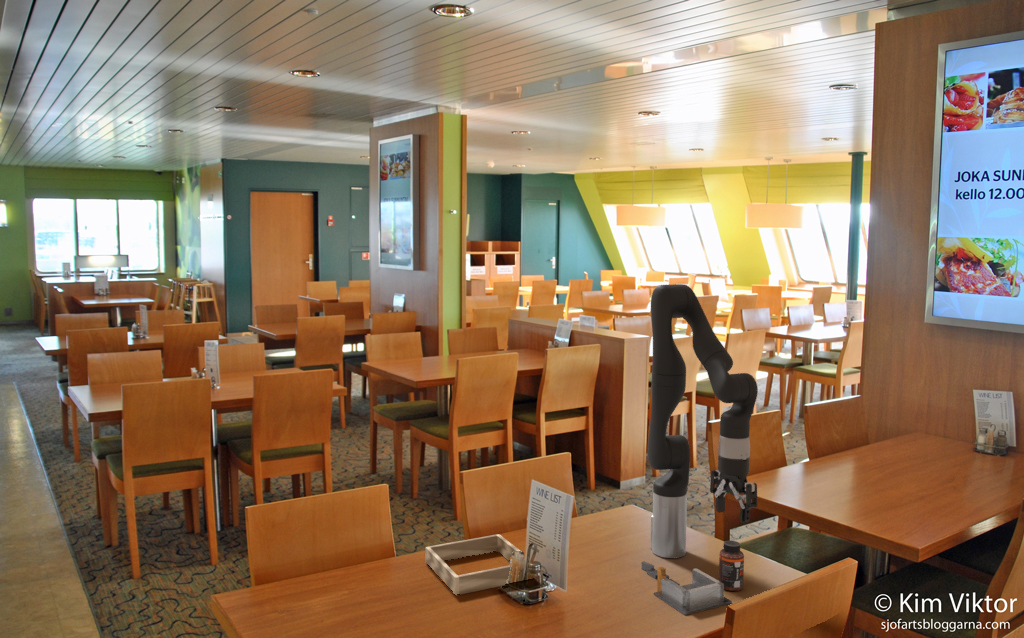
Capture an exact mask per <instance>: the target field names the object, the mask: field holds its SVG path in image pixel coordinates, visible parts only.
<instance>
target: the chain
mask: <svg viewBox="0 0 1024 638" xmlns="http://www.w3.org/2000/svg"><path fill="white" fill-rule="evenodd" d="M641 569H642V570H643V571H645V572H647V575H648V576H650V577H652V578H653V579H655V580H657V570H658V569H655V565H654V564H652V563H650V562H647V561H645V560H644V561H641ZM666 578H668V579H670V580H671V581H673V582H674V583H676V584H678V585H679V586H681V584H680V583H679V582H677V581H675V580H674V579H672V578H670V576H669V575H668V574H666Z"/></svg>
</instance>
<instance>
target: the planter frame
mask: <svg viewBox="0 0 1024 638" xmlns="http://www.w3.org/2000/svg"><path fill="white" fill-rule="evenodd" d="M424 547H425V549H424V550H425V551H424V553H425V555H424V556H425V563H426V562H427V564H428V565H429V566H430V567H431V568H432V569H433V570H434V571H435V572H436V573H437V574H438V576H439V577H440V578H441V579H442V580H443V581H444V582H445V583H446V584H447V586H448V587H449V588H450V589H451V590H452V591H453V592H452V591H451V590H450V589H449V588H448V587H447V586H446V587H447V588H448V589H449V590H450V591H451V592H452V593H453V595H454V594H455V595H456V596H458V595H457V594H460V595H464V594H470V593H474V592H478V591H484V590H489V589H493V588H499V587H501V586H502V587H503V586H506V585H505V584H506V580H507V579H508V576H509V571H510V565H511V564H509V565H504V566H499V567H494V568H489V569H484V570H479V571H473V572H469V573H463V574H459V575H458V574H456V572H455V571H454V570H453V569H452V568H451V567H449V565H448V564H447V563H446V561H445V560H448V561H452V560H451V559H454V560H458V558H459V559H463V558H462V557H464V558H467V557H466V556H470V557H473V556H472V555H475V556H480V555H485V554H484V553H486V554H490V552H491V553H494V552H493V551H496V552H498V553H499V552H500V553H501V554H502V555H503V556H502V555H501V554H500V553H499V554H500V555H501V556H502V557H503V558H504V559H506V560H507V561H509V560H510V557H511V555H512V552H513V551H521V550H520V549H519V548H518V547H516V546H515V545H514V544H513V543H512V542H510V541H509V540H507V539H506V538H505V537H503V536H502V535H501V534H498V533H497V534H492V535H486V536H481V537H475V538H470V539H465V540H459V541H458V540H457V541H452V542H447V543H440V544H436V545H430V546H424ZM479 554H480V555H479ZM509 562H510V561H509ZM427 564H426V565H427ZM428 565H427V566H428ZM429 566H428V567H429ZM430 567H429V568H430ZM438 576H437V577H438ZM439 577H438V578H439ZM440 578H439V579H440ZM441 579H440V580H441ZM442 580H441V581H442ZM455 595H454V596H455Z"/></svg>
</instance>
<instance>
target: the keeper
mask: <svg viewBox="0 0 1024 638" xmlns="http://www.w3.org/2000/svg"><path fill="white" fill-rule="evenodd" d="M656 570H657V579H656V580H657V583H656V584H657V585H656V586H657V587H656V589H657V591H654V592H653V596H655V597H656V598H658V599H659V600H661V601H663V602H664V603H665V604H667V605H669V607H672V608H673V609H675V610H677V611H678V612H679V613H681V614H683V615H684V616H687V615H688V616H689V615H691V614H695V613H698V612H702V611H703V612H704V611H706V610H710V609H714V608H719V607H722V606H726V605H730V604H732V603H733V602H732V600H730V599H729V598H727V597H725V589H724V584H723V583H722V582H720V581H719V579H716V578H715V577H713V576H710V575H709V574H708V573H705V572H704V571H702V570H700V569H698V568H697V567H695V568H692V582H691V583H689V584H685V585H680V586H679V585H678V584H676V583H674V582H673V581H671V580H670V579H671V578H669V579H668V578H666V575H667V571H666V570H667V569H666V568H665V567H663V566H659V567H657V569H656Z"/></svg>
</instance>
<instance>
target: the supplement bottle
mask: <svg viewBox="0 0 1024 638" xmlns="http://www.w3.org/2000/svg"><path fill="white" fill-rule="evenodd" d="M718 561H719V565H718V581H720V582H722V583H723V584H724V591H726V590H727V591H731V592H738V591H740V590H742V589H743V588H744V576H745V575H744V573H745V571H744V570H745V569H744V568H745V555H744V552H743V551H741V543H740V542H738V541H735V540H725V541H724V542H723V548H722V549H721V550H720V551H719V560H718Z"/></svg>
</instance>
